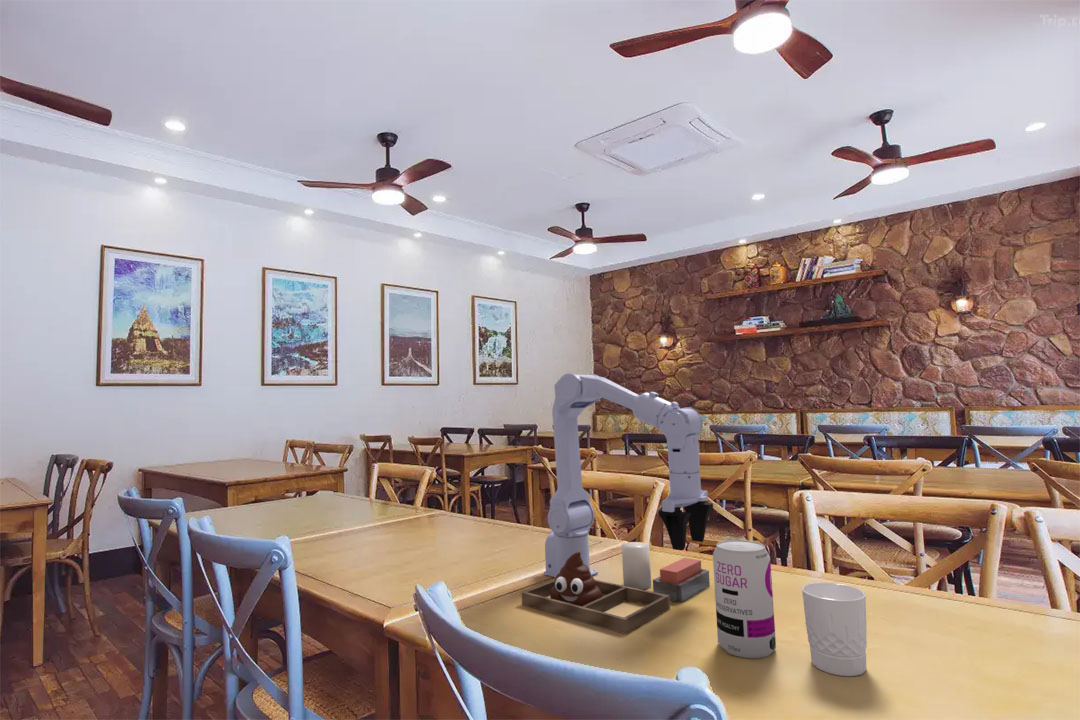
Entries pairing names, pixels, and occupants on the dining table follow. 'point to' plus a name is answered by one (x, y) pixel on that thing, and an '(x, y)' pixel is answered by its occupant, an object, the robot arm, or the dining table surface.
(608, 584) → the divided tray
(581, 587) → the poop emoji
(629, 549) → the wax pillar
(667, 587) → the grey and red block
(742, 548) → the supplement can
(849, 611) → the white cup
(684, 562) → the bar
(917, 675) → the dining table surface
